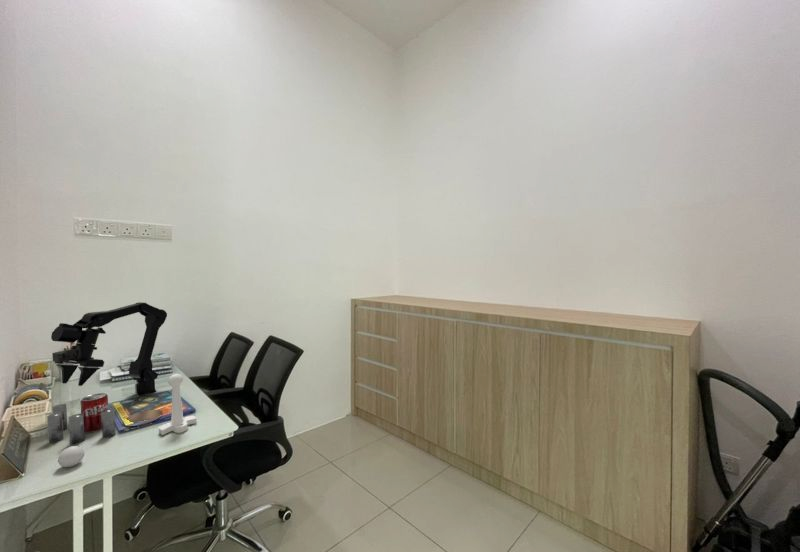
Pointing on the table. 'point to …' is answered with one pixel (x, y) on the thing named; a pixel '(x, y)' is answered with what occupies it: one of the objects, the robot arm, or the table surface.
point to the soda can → (93, 411)
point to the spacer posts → (76, 425)
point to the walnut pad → (145, 415)
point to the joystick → (176, 409)
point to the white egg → (71, 456)
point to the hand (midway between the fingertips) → (72, 384)
